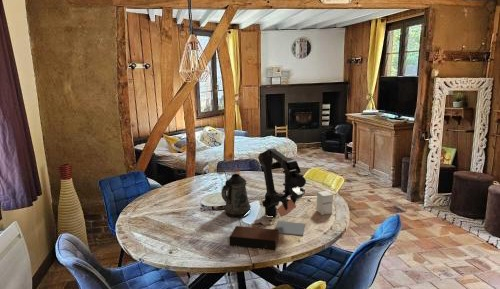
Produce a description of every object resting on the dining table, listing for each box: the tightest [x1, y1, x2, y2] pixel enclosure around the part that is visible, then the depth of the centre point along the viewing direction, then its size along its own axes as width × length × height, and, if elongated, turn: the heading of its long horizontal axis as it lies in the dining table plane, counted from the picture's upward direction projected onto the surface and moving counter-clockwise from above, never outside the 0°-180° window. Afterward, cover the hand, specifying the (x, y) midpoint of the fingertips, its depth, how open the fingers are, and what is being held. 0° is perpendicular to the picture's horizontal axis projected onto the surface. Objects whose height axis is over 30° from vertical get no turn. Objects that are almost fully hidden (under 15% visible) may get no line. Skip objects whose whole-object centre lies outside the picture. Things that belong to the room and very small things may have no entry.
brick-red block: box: [277, 199, 297, 218], centre depth 190 cm, size 5×5×10 cm
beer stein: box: [220, 173, 252, 219], centre depth 207 cm, size 16×19×25 cm
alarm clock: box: [229, 225, 280, 251], centre depth 174 cm, size 24×12×6 cm, turn 78°
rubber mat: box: [274, 220, 306, 237], centre depth 189 cm, size 16×14×1 cm
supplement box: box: [316, 190, 334, 216], centre depth 209 cm, size 7×7×13 cm
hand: (289, 208), depth 188 cm, fingers closed on brick-red block, 5 cm apart
